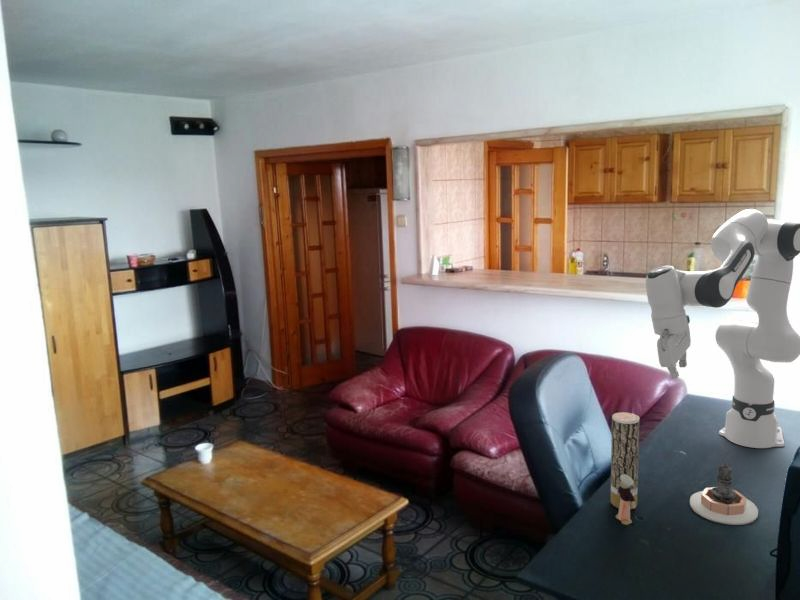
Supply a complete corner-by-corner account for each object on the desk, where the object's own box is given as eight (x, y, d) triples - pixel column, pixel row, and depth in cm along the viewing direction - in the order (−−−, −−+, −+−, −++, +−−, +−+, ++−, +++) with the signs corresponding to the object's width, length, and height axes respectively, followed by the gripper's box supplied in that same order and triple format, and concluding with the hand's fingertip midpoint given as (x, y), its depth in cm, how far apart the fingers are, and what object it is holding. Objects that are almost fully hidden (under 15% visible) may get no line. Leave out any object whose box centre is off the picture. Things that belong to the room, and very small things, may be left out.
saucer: (698, 488, 176) (698, 476, 176) (762, 504, 167) (763, 491, 166) (682, 512, 164) (683, 500, 163) (751, 531, 154) (752, 518, 154)
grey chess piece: (738, 511, 162) (741, 468, 160) (713, 509, 163) (715, 466, 161) (732, 500, 167) (734, 458, 165) (708, 498, 169) (710, 456, 167)
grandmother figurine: (608, 515, 164) (609, 470, 162) (619, 512, 166) (620, 467, 163) (629, 530, 157) (631, 483, 155) (641, 526, 159) (642, 479, 157)
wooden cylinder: (606, 505, 169) (607, 418, 165) (617, 495, 174) (618, 410, 170) (630, 513, 165) (633, 424, 160) (641, 503, 170) (643, 416, 165)
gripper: (672, 334, 165) (682, 384, 166) (690, 314, 180) (699, 360, 182) (648, 336, 169) (657, 385, 170) (667, 316, 184) (676, 361, 186)
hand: (679, 372), depth 176 cm, fingers open, 8 cm apart
